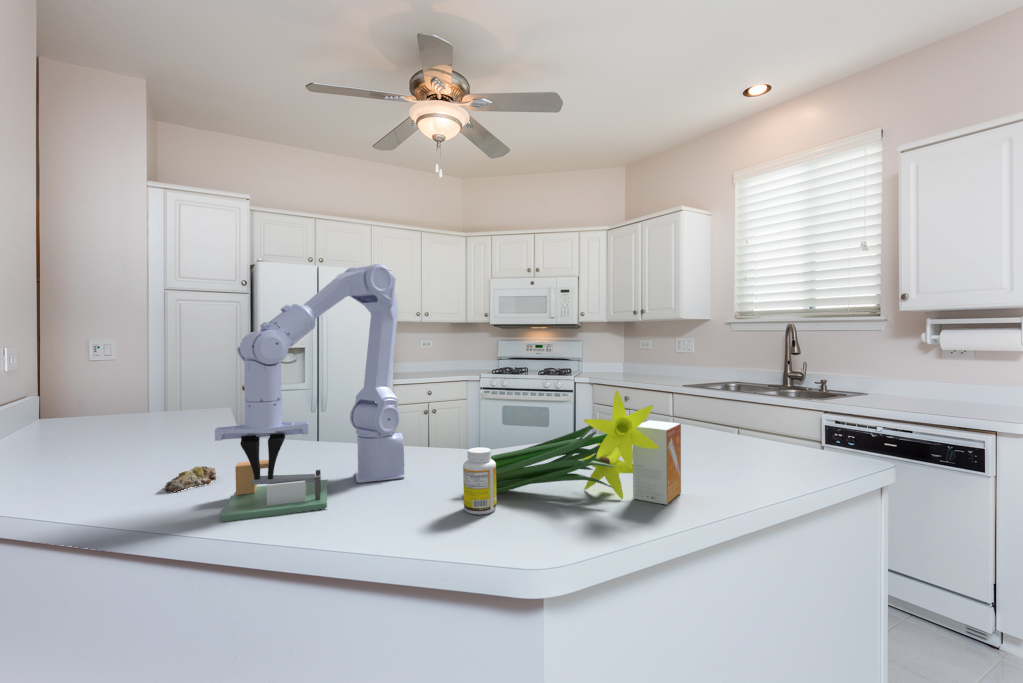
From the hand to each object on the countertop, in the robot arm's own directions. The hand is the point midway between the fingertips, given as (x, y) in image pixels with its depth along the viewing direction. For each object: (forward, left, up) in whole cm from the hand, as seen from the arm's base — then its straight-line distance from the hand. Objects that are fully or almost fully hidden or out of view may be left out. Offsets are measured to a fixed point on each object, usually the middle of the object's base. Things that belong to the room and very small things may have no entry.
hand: (264, 478), depth 86 cm
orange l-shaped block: (+2, -7, -4) cm, 8 cm away
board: (-2, -3, -5) cm, 6 cm away
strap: (-4, 0, -1) cm, 4 cm away
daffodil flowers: (-50, +14, -5) cm, 52 cm away
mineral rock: (+16, -21, -6) cm, 27 cm away
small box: (-67, +20, -5) cm, 70 cm away
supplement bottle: (-35, +15, -5) cm, 38 cm away
